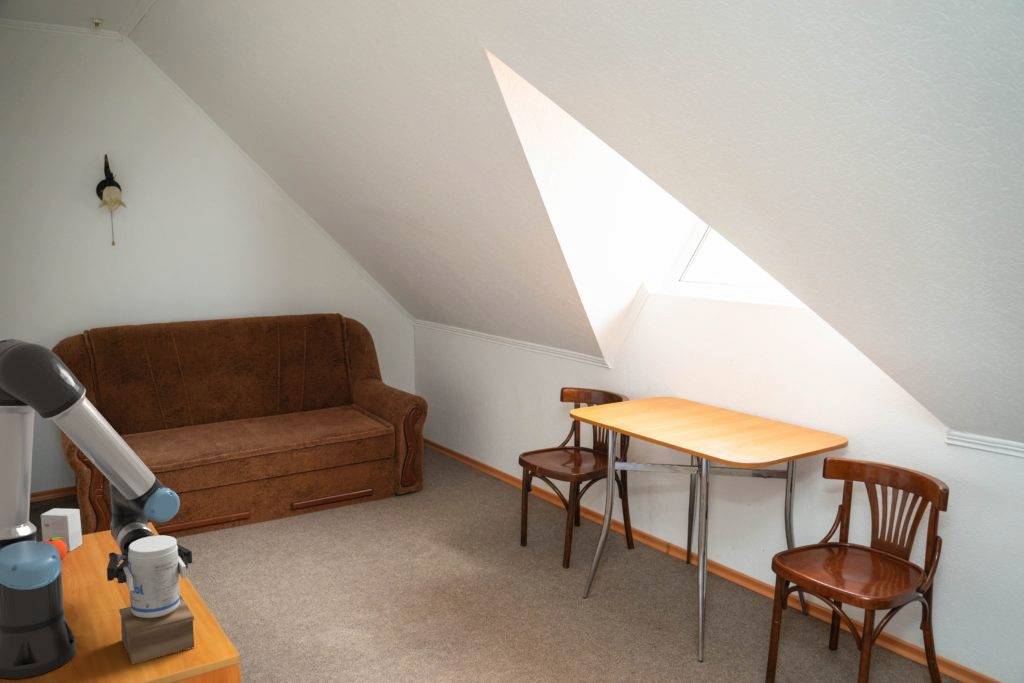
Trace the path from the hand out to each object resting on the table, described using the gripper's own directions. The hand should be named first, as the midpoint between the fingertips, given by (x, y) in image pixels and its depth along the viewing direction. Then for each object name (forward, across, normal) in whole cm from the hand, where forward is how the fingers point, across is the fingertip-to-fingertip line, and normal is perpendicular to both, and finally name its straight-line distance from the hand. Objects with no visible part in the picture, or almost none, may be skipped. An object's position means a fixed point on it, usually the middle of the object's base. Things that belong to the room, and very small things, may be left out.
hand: (158, 578), depth 163 cm
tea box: (-4, 0, -16) cm, 17 cm away
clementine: (-65, +14, -17) cm, 69 cm away
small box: (-76, +11, -17) cm, 79 cm away
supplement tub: (-4, 0, -9) cm, 10 cm away
